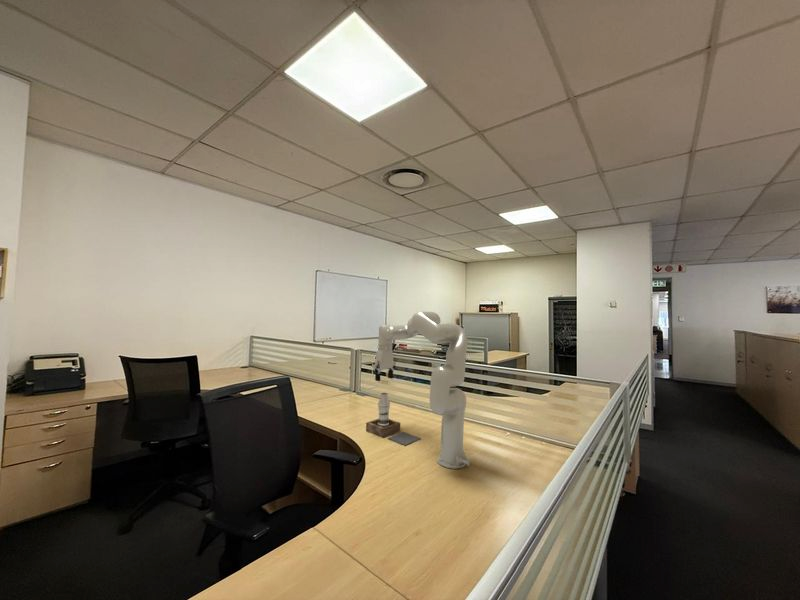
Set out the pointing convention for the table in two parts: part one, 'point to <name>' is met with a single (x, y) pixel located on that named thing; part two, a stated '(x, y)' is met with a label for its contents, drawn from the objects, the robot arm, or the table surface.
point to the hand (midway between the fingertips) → (384, 379)
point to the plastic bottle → (383, 410)
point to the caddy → (381, 431)
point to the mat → (404, 438)
